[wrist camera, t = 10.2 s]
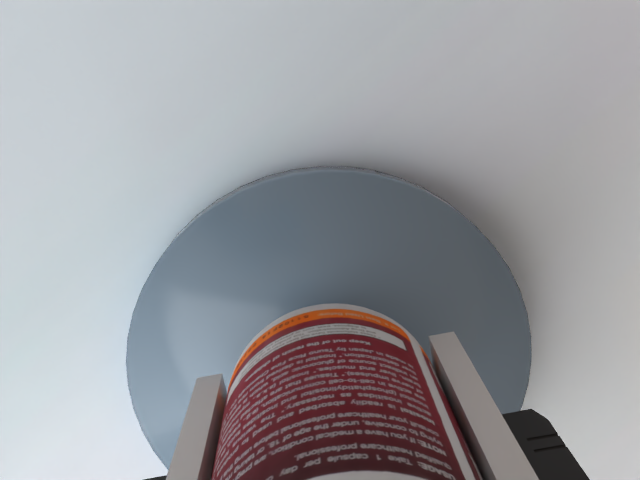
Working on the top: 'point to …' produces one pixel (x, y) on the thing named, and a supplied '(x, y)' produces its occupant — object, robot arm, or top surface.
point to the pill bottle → (338, 404)
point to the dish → (319, 284)
